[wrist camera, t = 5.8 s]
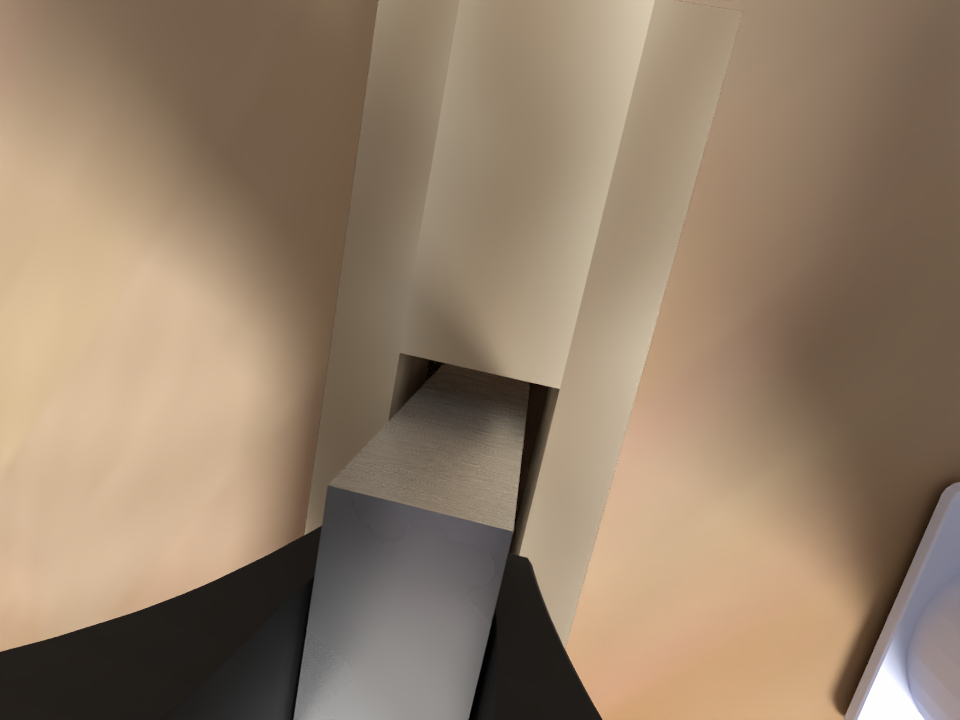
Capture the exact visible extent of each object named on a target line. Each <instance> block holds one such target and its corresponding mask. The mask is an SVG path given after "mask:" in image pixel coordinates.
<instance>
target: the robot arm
mask: <svg viewBox="0 0 960 720" xmlns="http://www.w3.org/2000/svg"><path fill="white" fill-rule="evenodd" d="M321 528H322V526H320V527H318V528H316V529H315V530H313V531H311V532H309V533H308V534H306V535H304V536H302V537H300V538H299V539H297V540H295V541H293V542H291V543H289V544H288V545H286V546H284V547H282V548H280V549H278V550H276V551H275V552H273V553H271V554H269V555H267V556H265V557H263V558H261V559H259V560H257V561H255V562H253V563H251V564H248V565H246V566H244V567H242V568H240V569H238V570H236V571H234V572H232V573H230V574H228V575H225V576H223V577H221V578H219V579H217V580H215V581H213V582H211V583H208V584H206V585H204V586H201V587H199V588H197V589H194V590H192V591H189V592H187V593H185V594H182V595H180V596H177V597H174V598H172V599H169V600H166V601H164V602H161V603H159V604H156V605H153V606H151V607H148V608H145V609H142V610H140V611H137V612H134V613H131V614H128V615H125V616H122V617H119V618H115V619H112V620H109V621H106V622H103V623H99V624H96V625H93V626H90V627H87V628H83V629H80V630H77V631H74V632H71V633H67V634H64V635H61V636H58V637H54V638H51V639H47V640H44V641H40V642H36V643H32V644H28V645H25V646H21V647H17V648H13V649H9V650H6V651H2V652H0V720H293V719H294V712H295V706H296V699H297V692H298V685H299V678H300V672H301V665H302V658H303V651H304V644H305V638H306V631H307V624H308V617H309V610H310V603H311V597H312V590H313V583H314V576H315V569H316V563H317V556H318V549H319V542H320V535H321ZM469 720H602V718H601V716H600V715H599V713H598V711H597V709H596V708H595V706H594V704H593V702H592V701H591V699H590V697H589V695H588V693H587V692H586V690H585V688H584V686H583V684H582V682H581V680H580V678H579V676H578V675H577V673H576V671H575V669H574V667H573V665H572V663H571V661H570V659H569V657H568V655H567V653H566V651H565V649H564V646H563V644H562V642H561V640H560V637H559V635H558V633H557V631H556V628H555V626H554V624H553V622H552V619H551V617H550V615H549V612H548V610H547V607H546V604H545V602H544V599H543V597H542V594H541V591H540V588H539V586H538V583H537V580H536V576H535V573H534V570H533V566H532V564H531V562H530V560H529V559H528V558H527V557H523V556H519V555H515V554H511V553H508V556H507V560H506V565H505V569H504V573H503V577H502V581H501V586H500V590H499V594H498V598H497V602H496V607H495V611H494V615H493V619H492V623H491V627H490V632H489V636H488V640H487V644H486V648H485V653H484V657H483V661H482V665H481V669H480V674H479V678H478V682H477V686H476V690H475V695H474V699H473V703H472V707H471V711H470V716H469ZM844 720H960V482H957V483H954V484H952V485H950V486H949V487H947V488H946V489H945V490H944V492H943V493H942V495H941V497H940V499H939V502H938V504H937V506H936V508H935V511H934V513H933V515H932V518H931V520H930V522H929V524H928V527H927V529H926V531H925V534H924V536H923V538H922V541H921V543H920V545H919V547H918V550H917V552H916V554H915V557H914V559H913V561H912V563H911V566H910V568H909V570H908V573H907V575H906V577H905V580H904V582H903V584H902V586H901V589H900V591H899V593H898V596H897V598H896V600H895V602H894V605H893V607H892V609H891V612H890V614H889V616H888V619H887V621H886V623H885V625H884V628H883V630H882V632H881V635H880V637H879V639H878V641H877V644H876V646H875V648H874V651H873V653H872V655H871V658H870V660H869V662H868V664H867V667H866V669H865V671H864V674H863V676H862V678H861V680H860V683H859V685H858V687H857V690H856V692H855V694H854V697H853V699H852V701H851V703H850V706H849V708H848V710H847V713H846V715H845V719H844Z"/></svg>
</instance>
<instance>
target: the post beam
mask: <svg viewBox="0 0 960 720" xmlns="http://www.w3.org/2000/svg"><path fill="white" fill-rule="evenodd" d="M742 14H743V11H738V10H732V9H725V8H719V7H713V6H707V5H701V4H695V3H689V2H682V1H676V0H378V7H377V14H376V21H375V28H374V36H373V43H372V50H371V57H370V64H369V72H368V79H367V86H366V93H365V100H364V108H363V115H362V122H361V129H360V136H359V144H358V151H357V158H356V165H355V172H354V180H353V187H352V194H351V201H350V208H349V215H348V223H347V230H346V237H345V244H344V251H343V259H342V266H341V273H340V280H339V287H338V295H337V302H336V309H335V316H334V323H333V331H332V338H331V345H330V352H329V359H328V367H327V374H326V381H325V388H324V395H323V403H322V410H321V417H320V424H319V431H318V438H317V446H316V453H315V460H314V467H313V474H312V482H311V489H310V496H309V503H308V510H307V518H306V525H305V532H304V535H306V534H308V533H309V532H311V531H313V530H315V529H316V528H318V527H320V526H322V522H323V515H324V508H325V501H326V494H327V488H328V485H329V484H330V482H331V481H332V480H333V479H334V478H335V477H336V476H337V475H338V474H339V473H340V472H341V471H342V470H343V469H344V468H345V467H346V466H347V465H348V464H349V462H350V461H351V460H352V459H353V458H354V457H355V456H356V455H357V454H358V453H359V452H360V451H361V450H362V449H363V448H364V447H365V446H366V445H367V444H368V442H369V441H370V440H371V439H372V438H373V437H374V436H375V435H376V434H377V433H378V432H379V431H380V430H381V429H382V428H383V427H384V426H385V425H386V424H387V422H388V421H389V420H390V419H391V418H392V417H393V416H394V415H395V414H396V413H397V412H398V411H399V410H400V409H401V408H402V407H403V406H404V405H405V404H406V402H407V401H408V400H409V399H410V398H411V397H412V396H413V395H414V394H415V393H416V392H417V391H418V390H419V389H420V388H421V387H422V386H423V385H424V384H425V379H426V374H427V368H428V363H429V360H434V361H438V362H443V363H447V364H451V365H456V366H460V367H465V368H469V369H474V370H478V371H482V372H487V373H491V374H496V375H500V376H505V377H509V378H513V379H518V380H522V381H527V382H531V383H536V384H540V385H544V386H549V388H548V392H547V396H546V400H545V405H544V409H543V413H542V417H541V421H540V425H539V430H538V434H537V438H536V442H535V446H534V451H533V455H532V459H531V463H530V467H529V471H528V476H527V480H526V484H525V488H524V492H523V497H522V501H521V505H520V509H519V513H518V517H517V522H516V526H515V530H514V534H513V538H512V543H511V547H510V551H509V553H511V554H515V555H519V556H523V557H527V558H528V559H529V560H530V562H531V564H532V566H533V570H534V573H535V576H536V580H537V583H538V586H539V588H540V591H541V594H542V597H543V599H544V602H545V604H546V607H547V610H548V612H549V615H550V617H551V619H552V622H553V624H554V626H555V628H556V631H557V633H558V635H559V637H560V640H561V642H562V644H563V646H564V649H565V648H566V644H567V641H568V637H569V633H570V630H571V626H572V623H573V619H574V616H575V612H576V608H577V605H578V601H579V598H580V594H581V590H582V587H583V583H584V580H585V576H586V573H587V569H588V565H589V562H590V558H591V555H592V551H593V548H594V544H595V540H596V537H597V533H598V530H599V526H600V522H601V519H602V515H603V512H604V508H605V505H606V501H607V497H608V494H609V490H610V487H611V483H612V479H613V476H614V472H615V469H616V465H617V462H618V458H619V454H620V451H621V447H622V444H623V440H624V437H625V433H626V429H627V426H628V422H629V419H630V415H631V411H632V408H633V404H634V401H635V397H636V394H637V390H638V386H639V383H640V379H641V376H642V372H643V369H644V365H645V361H646V358H647V354H648V351H649V347H650V343H651V340H652V336H653V333H654V329H655V326H656V322H657V318H658V315H659V311H660V308H661V304H662V300H663V297H664V293H665V290H666V286H667V283H668V279H669V275H670V272H671V268H672V265H673V261H674V258H675V254H676V250H677V247H678V243H679V240H680V236H681V232H682V229H683V225H684V222H685V218H686V215H687V211H688V207H689V204H690V200H691V197H692V193H693V190H694V186H695V182H696V179H697V175H698V172H699V168H700V164H701V161H702V157H703V154H704V150H705V147H706V143H707V139H708V136H709V132H710V129H711V125H712V121H713V118H714V114H715V111H716V107H717V104H718V100H719V96H720V93H721V89H722V86H723V82H724V79H725V75H726V71H727V68H728V64H729V61H730V57H731V53H732V50H733V46H734V43H735V39H736V36H737V32H738V28H739V25H740V21H741V18H742Z"/></svg>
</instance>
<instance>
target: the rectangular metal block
mask: <svg viewBox="0 0 960 720" xmlns="http://www.w3.org/2000/svg"><path fill="white" fill-rule="evenodd" d="M529 388H530V382H527V381H522V380H518V379H513V378H509V377H505V376H500V375H496V374H491V373H487V372H482V371H478V370H474V369H469V368H465V367H460V366H456V365H451V364H447V363H444V364H443V365H442V366H441V367H440V368H439V369H438V370H437V371H436V372H435V373H434V374H433V375H432V376H431V377H430V378H429V379H428V380H427V381H426V383H425V384H424V385H423V386H422V387H421V388H420V389H419V390H418V391H417V392H416V393H415V394H414V395H413V396H412V397H411V398H410V399H409V400H408V401H407V402H406V404H405V405H404V406H403V407H402V408H401V409H400V410H399V411H398V412H397V413H396V414H395V415H394V416H393V417H392V418H391V419H390V420H389V421H388V422H387V424H386V425H385V426H384V427H383V428H382V429H381V430H380V431H379V432H378V433H377V434H376V435H375V436H374V437H373V438H372V439H371V440H370V441H369V442H368V444H367V445H366V446H365V447H364V448H363V449H362V450H361V451H360V452H359V453H358V454H357V455H356V456H355V457H354V458H353V459H352V460H351V461H350V462H349V464H348V465H347V466H346V467H345V468H344V469H343V470H342V471H341V472H340V473H339V474H338V475H337V476H336V477H335V478H334V479H333V480H332V481H331V482H330V484H329V485H328V488H327V494H326V501H325V508H324V515H323V522H322V528H321V535H320V542H319V549H318V556H317V563H316V569H315V576H314V583H313V590H312V597H311V603H310V610H309V617H308V624H307V631H306V638H305V644H304V651H303V658H302V665H301V672H300V678H299V685H298V692H297V699H296V706H295V712H294V719H293V720H469V716H470V711H471V707H472V703H473V699H474V695H475V690H476V686H477V682H478V678H479V674H480V669H481V665H482V661H483V657H484V653H485V648H486V644H487V640H488V636H489V632H490V627H491V623H492V619H493V615H494V611H495V607H496V602H497V598H498V594H499V590H500V586H501V581H502V577H503V573H504V569H505V565H506V560H507V556H508V552H509V548H510V544H511V539H512V535H513V531H514V522H515V513H516V504H517V495H518V486H519V477H520V468H521V459H522V450H523V441H524V432H525V423H526V414H527V405H528V396H529Z"/></svg>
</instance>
